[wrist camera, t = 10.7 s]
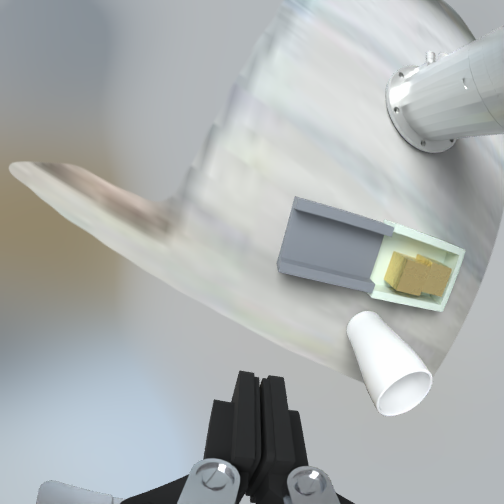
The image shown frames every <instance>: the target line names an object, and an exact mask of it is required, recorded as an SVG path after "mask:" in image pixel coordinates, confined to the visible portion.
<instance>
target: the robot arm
mask: <svg viewBox="0 0 504 504" xmlns="http://www.w3.org/2000/svg"><path fill="white" fill-rule="evenodd" d="M386 103H387V108H388V111H389V114H390V117H391V119H392V121H393V123H394V125H395V127H396V128H397V130H398V131H399V133H400V134H401V135H402V136H403V137H404V138H405V140H406V141H407V142H409V143H410V144H411V145H412V146H414V147H416V148H417V149H419V150H421V151H425V152H428V153H439V152H443V151H446V150H448V149H449V148H451V147H452V146H453V145H454V143H455V142H456V140H457V138H466V137H475V136H485V135H497V134H504V26H502V27H500V28H498V29H496V30H494V31H492V32H491V33H489V34H487V35H485V36H483V37H481V38H479V39H477V40H475V41H473V42H471V43H469V44H467V45H465V46H463V47H461V48H459V49H457V50H455V51H454V52H452V53H450V54H447V53H444V52H441V53H439V56H438V60H437V61H435V53H434V52H432V51H427V52H426V63H424V64H423V65H421V66H417V65H408V66H404V67H402V68H400V69H399V70H397V71H396V72H395V73H393V75H392V76H391V77H390V79H389V81H388V84H387V88H386ZM394 111H395V112H394ZM244 494H246V496H250V502H251V503H256V504H354V503H353V502H351V501H349V500H347V499H346V498H344V497H342V496H341V495H339V494H337V493H336V492H335V490H334V488H333V485H332V483H331V480H330V479H329V477H328V475H327V474H326V473H325V472H323V471H322V470H320V469H318V468H316V467H312V466H308V460H307V454H306V448H305V443H304V437H303V431H302V426H301V421H300V415H299V412H298V411H293V410H288V404H287V396H286V389H285V383H284V378H283V377H278V376H270V375H269V376H268V378H267V379H266V378H263V379H262V381H261V384H260V387H259V377H254V373H251V372H245V371H239V374H238V378H237V382H236V386H235V389H234V394H233V397H232V401H231V402H225V401H220V400H214V403H213V407H212V412H211V417H210V422H209V428H208V434H207V440H206V446H205V452H204V459H203V460H201V461H199V462H198V463H196V464H195V465H194V466H193V468H192V469H191V471H190V474H189V475H186V476H184V477H182V478H180V479H177V480H175V481H173V482H171V483H168V484H165V485H163V486H160V487H158V488H155V489H153V490H150V491H148V492H145V493H142V494H139V495H136V496H133V497H130V498H128V499H122V498H116V497H112V495H109V494H103V493H98V492H94V491H90V490H86V489H82V488H78V487H75V486H71V485H68V484H64V483H61V482H58V481H46V482H44V483H43V484H42V485H41V486H40V488H39V491H38V496H37V502H36V504H239V502H240V501H241V499H242V497H243V496H244Z"/></svg>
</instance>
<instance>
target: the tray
mask: <svg viewBox="0 0 504 504" xmlns="http://www.w3.org/2000/svg"><path fill="white" fill-rule="evenodd" d="M384 223H385V224H387V225H390V226H392V227H394V231H393V234H392V237H390V236H386V235H384V237H383V241H382V244H381V247H380V250H379V253H378V256H377V259H376V262H375V265H374V268H373V271H372V274H371V276H370V279H371V280H372V281H373V282H374V283H375V287H374V289H373V292H372V293H369V292H367V293H368V295H369V296H370V297H371V298H376V299H380V300H385V301H390V302H395V303H399V304H404V305H409V306H414V307H419V308H424V309H429V310H434V311H439V312H443V310H444V307H445V305H446V303H447V300H448V298H449V295H450V293H451V290H452V288H453V285H454V283H455V280H456V277H457V275H458V272H459V269H460V266H461V263H462V260H463V257H464V254H465V251H466V250H464V249H462V248H460V247H457V246H455V245H452V244H450V243H448V242H445V241H443V240H440V239H437V238H435V237H432V236H430V235H427V234H424V233H422V232H419V231H416V230H414V229H411V228H408V227H405V226H403V225H400V224H397V223H394V222H391V221H388V220H385V219H384ZM393 251H396V252H399V253H402V254H405V255H408V256H411V257H414V258H416V256H417V254H419V255H422V256H425V257H428V258H431V259H434V260H437V261H439V262H440V263H442V264H444V265H446V266H448V267H450V268H451V269H452V272H451V274H450V277H449V280H448V282H447V285H446V287H445V290H444V292H443V295H442V297H440V296H436V295H432V294H428V293H424V292H421V294H420V296H417V295H413V294H409V293H405V292H401V291H397V290H395V289H394V288H393V287H392V286H391V285H390V284H389V283H387V282H386V281H385V280H384V277H385V274H386V271H387V268H388V266H389V263H390V260H391V257H392V254H393Z"/></svg>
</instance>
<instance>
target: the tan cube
mask: <svg viewBox="0 0 504 504" xmlns="http://www.w3.org/2000/svg"><path fill="white" fill-rule="evenodd" d="M416 258H417V259H418V260H420V261H422V262H424V263H425V264H427V265H429V266H430V267H431V268H430V271H429V274H428V276H427V279H426V282H425V284H424V287H423V289H422V292H424V293H428V294H432V295H436V296H440V297H442V295H443V292H444V290H445V287H446V285H447V282H448V280H449V277H450V274H451V272H452V269H451V268H450V267H448V266H446V265H444V264H442V263H440V262H439V261H437V260H434V259H431V258H428V257H425V256H422V255H419V254H417V256H416Z"/></svg>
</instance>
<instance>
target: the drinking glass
mask: <svg viewBox="0 0 504 504" xmlns="http://www.w3.org/2000/svg"><path fill="white" fill-rule="evenodd" d="M347 336H348V339H349V340H350V342H351V345H352V348H353V350H354V353H355V356H356V359H357V362H358V365H359V368H360V371H361V374H362V377H363V380H364V383H365V386H366V388H367V391H368V393H369V395H370V397H371V399H372V401H373V403H374V405H375V407H376V409H377V410H378V412H379V413H380V414H381V415H384V416H397V415H400V414H403V413H405V412H407V411H409V410H411V409H412V408H414V407H415V406H416V405H418V404H419V403H420V402H421V401H422V400H423V399H424V398H425V397H426V395H427V394H428V392H429V391H430V388H431V386H432V381H433V378H432V375H431V373H430V371H429V370H428V368H427V367H426V365H425V364H424V362H423V361H422V360H421V358H420V357H419V356H418V355H417V354H416V352H415V351H414V350H413V349H412V348H411V347H410V346H409V345H408V344H407V343H406V342H405V341H404V340H403V339H402V338H401V337H399V336H398V335H397V334H396V333H395V332H394V331H393V330H392V329H391V328H390V327H389V326H388V325H387V324H386V323H385V322H384V321H383V320H382V319H381V318H380V316H379V315H378V314H377V313H375V312H372V311H363V312H360V313H358V314H356V315H355V316H354V317H353V318H352V319H351V320H350V322H349V324H348V326H347Z"/></svg>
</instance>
